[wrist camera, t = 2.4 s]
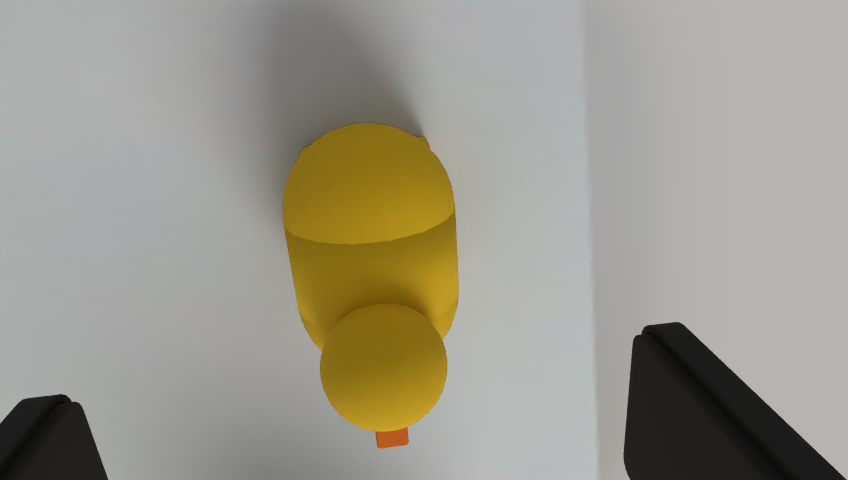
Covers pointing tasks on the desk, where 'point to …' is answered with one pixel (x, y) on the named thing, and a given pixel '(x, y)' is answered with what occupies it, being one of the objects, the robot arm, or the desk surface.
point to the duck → (374, 271)
